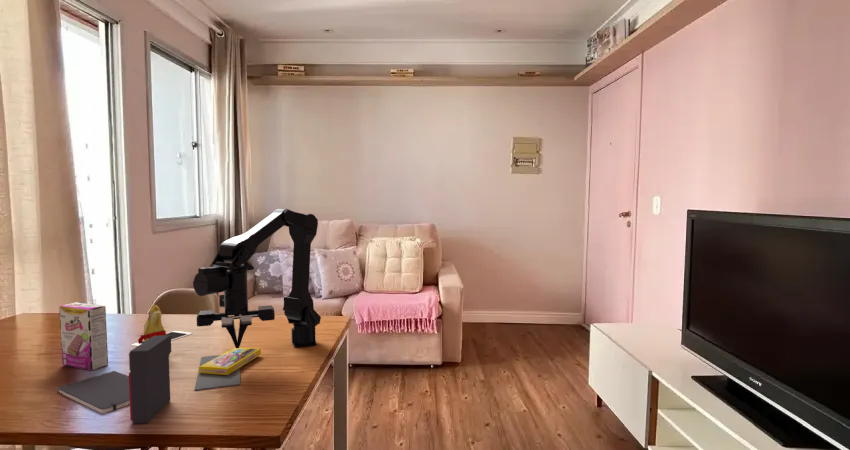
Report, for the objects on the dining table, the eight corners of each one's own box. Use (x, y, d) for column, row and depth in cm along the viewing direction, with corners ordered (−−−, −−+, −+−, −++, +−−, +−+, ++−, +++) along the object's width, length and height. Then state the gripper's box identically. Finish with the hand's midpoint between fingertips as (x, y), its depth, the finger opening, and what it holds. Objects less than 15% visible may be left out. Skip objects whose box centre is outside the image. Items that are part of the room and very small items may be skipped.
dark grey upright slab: (153, 401, 110) (150, 335, 109) (173, 400, 110) (171, 334, 109) (128, 424, 99) (124, 351, 98) (150, 424, 99) (147, 351, 98)
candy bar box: (60, 366, 131) (57, 305, 130) (79, 360, 136) (76, 301, 135) (91, 371, 128) (88, 309, 126) (109, 365, 132) (106, 304, 131)
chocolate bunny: (159, 351, 144) (157, 300, 143) (173, 360, 136) (171, 306, 135) (133, 357, 139) (131, 304, 138) (145, 366, 131) (143, 311, 130)
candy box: (227, 367, 124) (197, 366, 125) (228, 375, 124) (198, 375, 125) (260, 347, 139) (234, 346, 141) (261, 354, 140) (234, 354, 141)
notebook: (162, 395, 115) (114, 376, 126) (161, 388, 114) (114, 370, 126) (102, 416, 104) (56, 394, 115) (102, 409, 104) (56, 387, 115)
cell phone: (130, 346, 149) (130, 344, 149) (175, 332, 164) (174, 330, 164) (149, 349, 146) (149, 347, 146) (192, 334, 161) (192, 332, 161)
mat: (239, 353, 142) (239, 352, 142) (240, 384, 119) (240, 383, 119) (201, 357, 138) (201, 356, 138) (194, 390, 116) (194, 389, 116)
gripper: (271, 281, 140) (272, 335, 141) (198, 285, 133) (200, 342, 134) (274, 288, 129) (275, 347, 130) (195, 294, 123) (197, 355, 124)
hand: (237, 347), depth 130 cm, fingers closed
